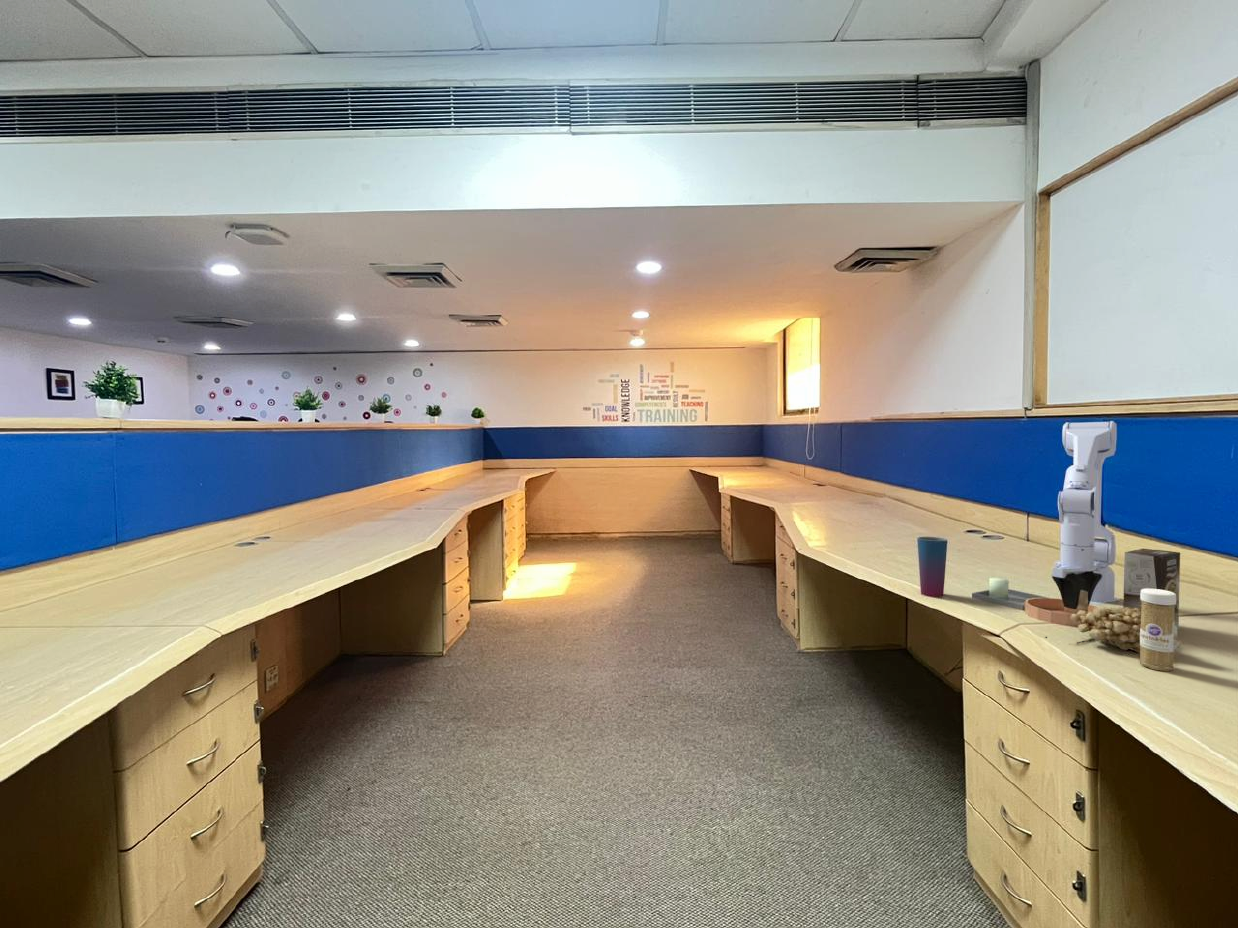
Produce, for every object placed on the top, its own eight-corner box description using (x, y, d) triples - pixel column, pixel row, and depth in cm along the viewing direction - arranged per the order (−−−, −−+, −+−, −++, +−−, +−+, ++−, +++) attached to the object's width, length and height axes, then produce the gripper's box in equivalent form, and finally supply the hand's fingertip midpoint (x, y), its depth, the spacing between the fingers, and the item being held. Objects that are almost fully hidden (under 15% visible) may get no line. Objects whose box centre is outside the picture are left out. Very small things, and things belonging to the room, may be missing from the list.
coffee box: (1161, 635, 116) (1162, 556, 115) (1121, 626, 121) (1122, 551, 121) (1180, 628, 120) (1182, 551, 119) (1141, 619, 126) (1142, 547, 125)
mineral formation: (1187, 663, 101) (1084, 648, 107) (1148, 649, 114) (1057, 637, 119) (1188, 617, 102) (1085, 604, 107) (1149, 609, 115) (1059, 598, 120)
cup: (951, 600, 143) (951, 541, 142) (921, 599, 144) (922, 540, 143) (941, 593, 149) (942, 536, 149) (913, 592, 151) (913, 536, 150)
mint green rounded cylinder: (995, 594, 145) (995, 577, 145) (1012, 598, 142) (1012, 580, 142) (985, 596, 144) (985, 578, 144) (1002, 600, 140) (1002, 582, 140)
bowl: (1046, 607, 136) (1046, 595, 136) (1113, 623, 124) (1114, 609, 124) (1012, 615, 130) (1012, 602, 130) (1079, 632, 118) (1079, 618, 118)
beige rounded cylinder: (1071, 608, 127) (1071, 587, 127) (1091, 612, 123) (1092, 592, 123) (1060, 610, 125) (1060, 590, 125) (1080, 615, 122) (1081, 594, 122)
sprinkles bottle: (1139, 667, 100) (1141, 591, 99) (1138, 659, 103) (1139, 586, 103) (1176, 674, 97) (1177, 595, 97) (1173, 665, 100) (1175, 590, 100)
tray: (1000, 594, 148) (1000, 587, 148) (1052, 605, 137) (1052, 598, 137) (971, 600, 143) (971, 592, 143) (1022, 612, 132) (1023, 604, 132)
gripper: (1075, 538, 130) (1074, 597, 131) (1037, 544, 124) (1036, 606, 125) (1112, 543, 124) (1111, 605, 125) (1074, 549, 118) (1073, 614, 118)
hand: (1076, 606), depth 124 cm, fingers closed on beige rounded cylinder, 4 cm apart
